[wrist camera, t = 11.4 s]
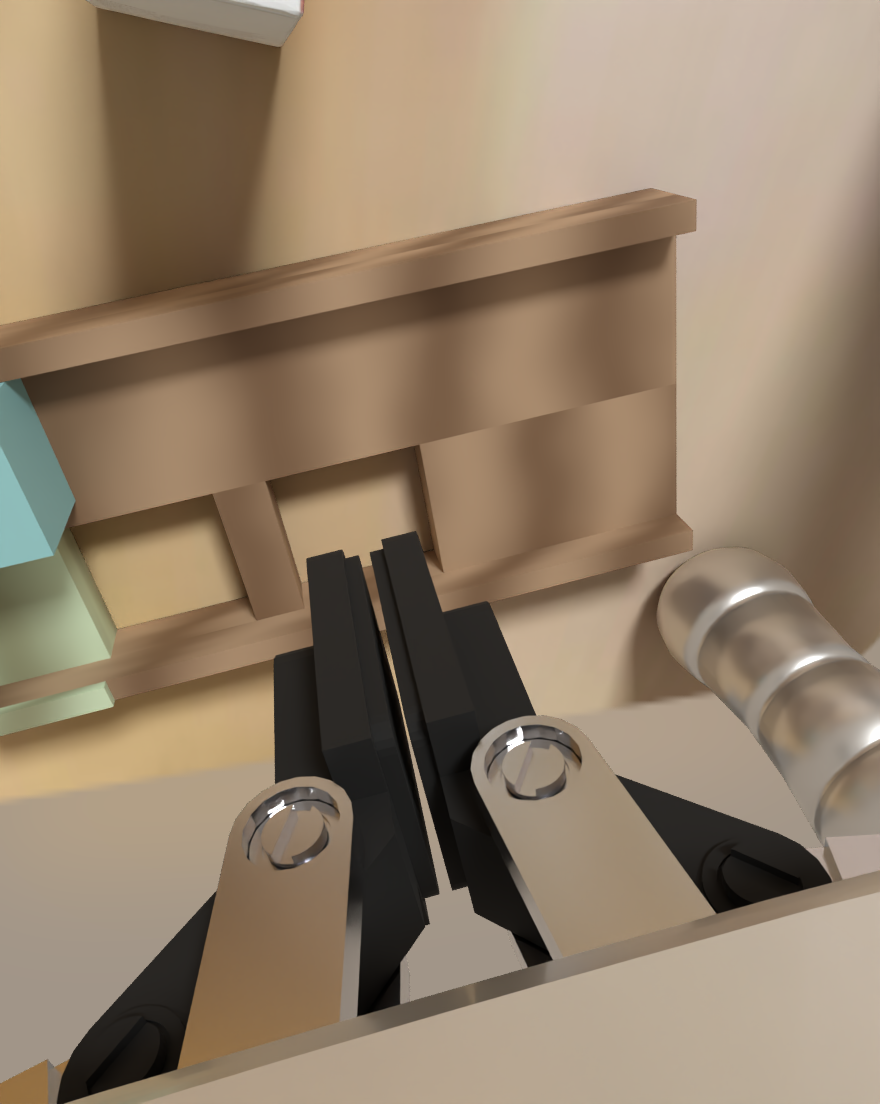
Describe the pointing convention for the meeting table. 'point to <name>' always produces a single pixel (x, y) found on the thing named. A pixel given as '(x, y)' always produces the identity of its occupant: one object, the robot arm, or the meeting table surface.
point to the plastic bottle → (782, 680)
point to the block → (28, 482)
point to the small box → (219, 16)
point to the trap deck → (357, 430)
